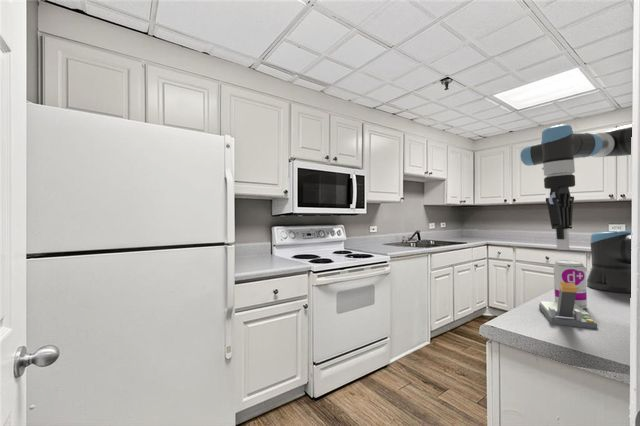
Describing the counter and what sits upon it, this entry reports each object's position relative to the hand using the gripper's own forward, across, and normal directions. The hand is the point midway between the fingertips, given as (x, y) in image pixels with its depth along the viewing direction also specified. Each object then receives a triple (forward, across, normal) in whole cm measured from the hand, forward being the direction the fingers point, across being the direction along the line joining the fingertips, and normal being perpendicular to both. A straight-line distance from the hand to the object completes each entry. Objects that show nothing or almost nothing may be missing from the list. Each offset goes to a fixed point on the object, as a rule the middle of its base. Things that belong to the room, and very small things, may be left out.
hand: (563, 249), depth 90 cm
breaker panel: (+20, +5, +2) cm, 21 cm away
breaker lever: (+18, +10, +3) cm, 20 cm away
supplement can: (+21, -9, -3) cm, 23 cm away
